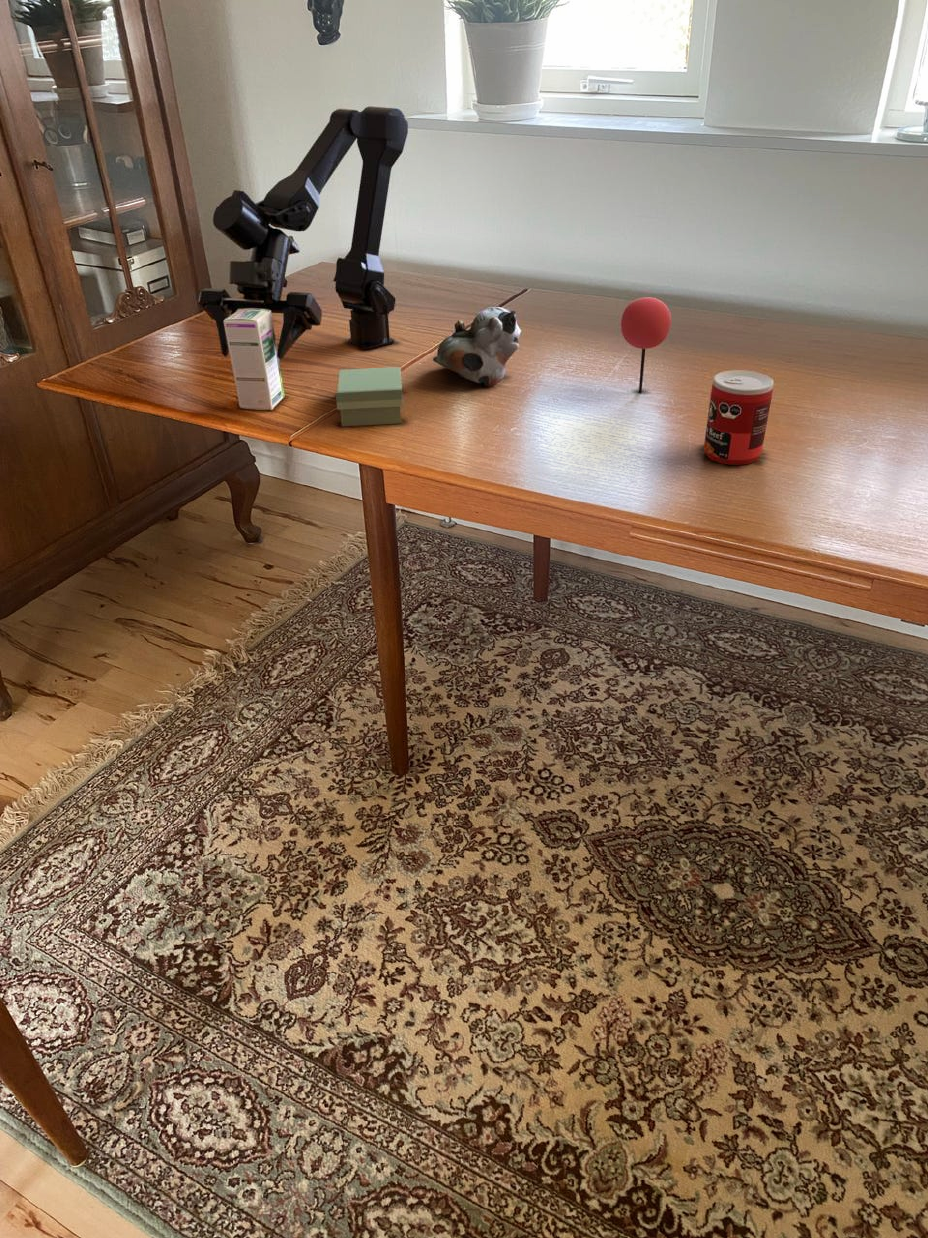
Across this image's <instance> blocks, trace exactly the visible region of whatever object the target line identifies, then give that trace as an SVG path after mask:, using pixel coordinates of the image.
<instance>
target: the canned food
mask: <svg viewBox="0 0 928 1238" xmlns="http://www.w3.org/2000/svg"><path fill="white" fill-rule="evenodd" d="M774 383H775V381H774V380H773V378H771V377H770V376H769V375H766V374H764V373H761V372H758V371H752V370H746V369H745V370H744V369H732V370H725V371H721V372H719V373H717V374H715V375H714V376H713V380H712V383H711V384H712V385H711V391H710V396H709V397H710V398H709V405H708V414H707V420H706V427H705V436H704V443H703V449H704V454H705V456H706V457H708V458H709V459H710V460H711V461H714V462H716V463H719V464H723V465H730V466H743V465H749V464H752V463H754V462H756V461H757V460H759V458H760V456H761V455H762V452H763V446H764V441H765V435H766V431H767V425H768V421H769V414H770V409H771V403H772V397H773V391H774Z"/></svg>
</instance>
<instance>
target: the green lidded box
mask: <svg viewBox="0 0 928 1238" xmlns="http://www.w3.org/2000/svg"><path fill="white" fill-rule="evenodd" d="M337 379H338V380H337V381H338V382H337V391H335V400H336V401H335V402H336V410H337V411H339V412H340V413H339V414H340V422H341V427H358V426H359V427H360V426H376V425H377V426H379V425H394V424H395V425H396V424H402V410H401V409H402V408H401V407H404V401H403V399H404V398H403V386H402V384H403V383H402V373H401V366H389V367H371V368H367V367H365V368H350V369H339V370H338V378H337Z"/></svg>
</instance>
